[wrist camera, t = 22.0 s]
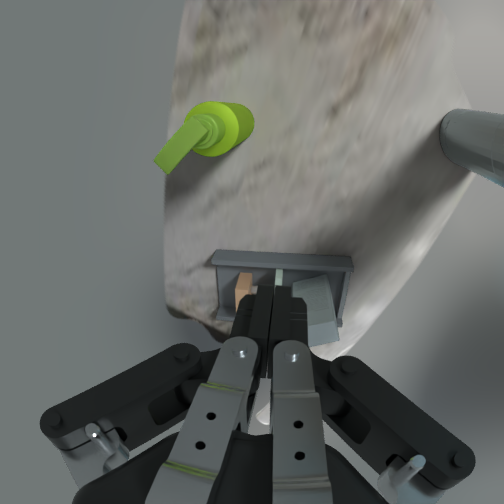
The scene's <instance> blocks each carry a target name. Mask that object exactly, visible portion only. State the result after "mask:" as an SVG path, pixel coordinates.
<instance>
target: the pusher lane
mask: <svg viewBox="0 0 504 504" xmlns="http://www.w3.org/2000/svg"><path fill="white" fill-rule="evenodd" d="M211 262H212V264H214V265H217V276H218V289H219V302H220V307H219V310H218V312H217V315H216V319H217V320H227V321H234V319H235V316H236V299H235V288H236V285H237V281H238V278H239V275H240V272H243V273H252V286H258V284H264V285H274V287H275V277H276V268H280V269H283V278H282V286H291V297H293V282H297V281H301V280H305V279H309V278H313V277H317V276H321V275H324V274H327V277H328V281H329V285H330V289H331V293H332V299H333V304H334V310H335V316H336V321H337V327H342V324H343V323H342V314H343V310H344V305H345V300H346V295H347V290H348V285H349V279H350V274H351V272H353V271H354V266H353V263H352V260H351V257H347V256H328V255H310V254H291V253H273V252H254V251H235V250H216V252H215V254H214V256H213V258H212V260H211ZM252 295H256V294H252Z"/></svg>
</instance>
